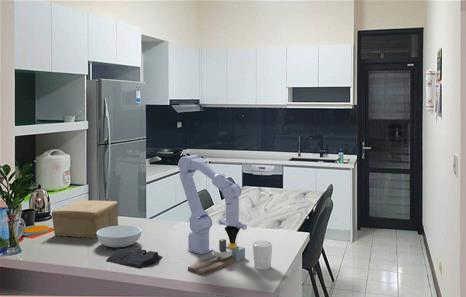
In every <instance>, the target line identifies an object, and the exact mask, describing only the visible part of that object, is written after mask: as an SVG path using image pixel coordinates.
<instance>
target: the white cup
mask: <svg viewBox="0 0 466 297" xmlns="http://www.w3.org/2000/svg"><path fill="white" fill-rule="evenodd" d="M252 249H253V250H252V252H253V267H254V268H255V269H257V270H260V271H265V270H270V269H271V267H272V266H271V265H272V253H273V243H272V242H271V241H268V240H256V241H254V242H253V243H252Z"/></svg>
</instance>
